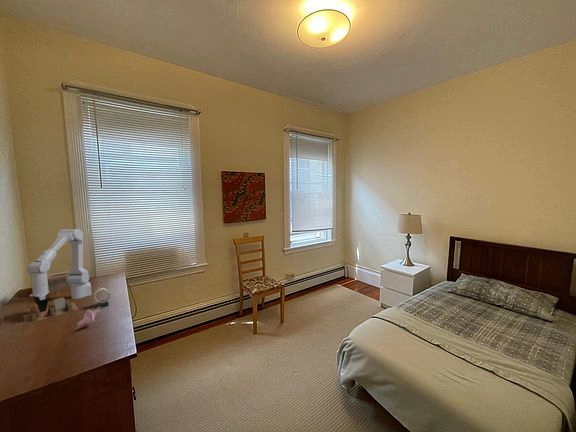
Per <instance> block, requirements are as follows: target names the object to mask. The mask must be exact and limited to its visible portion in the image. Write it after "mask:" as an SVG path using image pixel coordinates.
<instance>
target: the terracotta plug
mask: <svg viewBox="0 0 576 432" xmlns="http://www.w3.org/2000/svg"><path fill="white" fill-rule="evenodd" d="M35 312H36V315H37V317H41V316H45V315H48V306H47V309H46V311H44V312H40V311H39V308H38V305H37V304H36V303H35Z"/></svg>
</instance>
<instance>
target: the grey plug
mask: <svg viewBox="0 0 576 432" xmlns="http://www.w3.org/2000/svg"><path fill="white" fill-rule="evenodd" d="M65 300H66V299H65V297H59V298H56V299H55V298H54V299H53V307H54V309H55V312H60V311H63V310H66V306H65Z"/></svg>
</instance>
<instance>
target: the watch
mask: <svg viewBox="0 0 576 432" xmlns="http://www.w3.org/2000/svg"><path fill="white" fill-rule="evenodd" d="M100 291H103V292H104V293H105V294H106V295H107V296H108V297H107V299H103V300H100V299H98V298H97V297H96V294H97V293H98V292H100ZM111 297H112V292H111V291H110V290H109V289H108V288H107V287H105V288H104V287H102V288H101V287H100V288H98V289H97V290H95V291H94V294H93V299H94V301H96V302H97V306H98V307H100V306H101V307H100V308H99V309H102V308H107V307H109V300H110V299H111ZM98 307H97V308H98Z"/></svg>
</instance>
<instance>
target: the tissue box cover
mask: <svg viewBox="0 0 576 432" xmlns="http://www.w3.org/2000/svg"><path fill="white" fill-rule="evenodd" d="M69 271H70V270H66V271H61V272H54V273H47V279H48V291H49V293H50V294H52V293H51V292H55V293H57V292H56V291H59V292H62V291H61V290H64V291H66V290H65V289H68V290H71V289H70V288H71V285H69V284H68V283H67V281H66V278H67V276H68V272H69Z"/></svg>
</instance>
